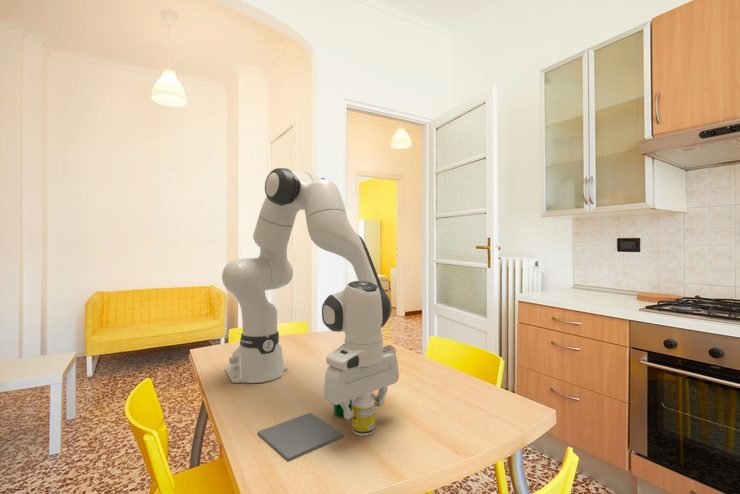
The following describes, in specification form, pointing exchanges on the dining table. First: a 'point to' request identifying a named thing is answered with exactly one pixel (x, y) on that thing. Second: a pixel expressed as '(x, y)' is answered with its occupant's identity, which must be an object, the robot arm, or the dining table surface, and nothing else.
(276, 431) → the mat
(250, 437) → the dining table surface
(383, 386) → the robot arm
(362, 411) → the supplement bottle
